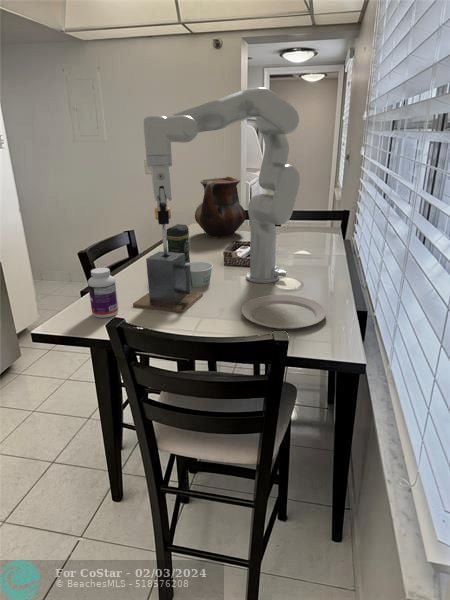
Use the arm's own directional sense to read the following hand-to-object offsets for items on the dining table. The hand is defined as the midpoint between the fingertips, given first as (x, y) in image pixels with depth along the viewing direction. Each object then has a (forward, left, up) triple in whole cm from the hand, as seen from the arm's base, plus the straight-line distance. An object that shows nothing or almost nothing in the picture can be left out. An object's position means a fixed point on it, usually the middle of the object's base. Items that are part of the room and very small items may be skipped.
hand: (163, 221), depth 133 cm
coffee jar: (+11, -32, -27) cm, 43 cm away
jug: (+17, -97, -27) cm, 102 cm away
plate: (-39, 0, -27) cm, 48 cm away
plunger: (0, 0, -16) cm, 16 cm away
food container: (-2, -20, -27) cm, 34 cm away
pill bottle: (+14, +16, -27) cm, 34 cm away
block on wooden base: (0, 0, -27) cm, 27 cm away
